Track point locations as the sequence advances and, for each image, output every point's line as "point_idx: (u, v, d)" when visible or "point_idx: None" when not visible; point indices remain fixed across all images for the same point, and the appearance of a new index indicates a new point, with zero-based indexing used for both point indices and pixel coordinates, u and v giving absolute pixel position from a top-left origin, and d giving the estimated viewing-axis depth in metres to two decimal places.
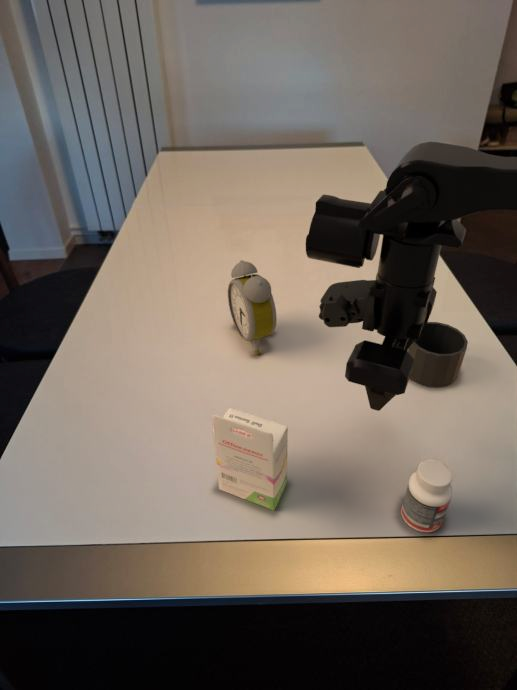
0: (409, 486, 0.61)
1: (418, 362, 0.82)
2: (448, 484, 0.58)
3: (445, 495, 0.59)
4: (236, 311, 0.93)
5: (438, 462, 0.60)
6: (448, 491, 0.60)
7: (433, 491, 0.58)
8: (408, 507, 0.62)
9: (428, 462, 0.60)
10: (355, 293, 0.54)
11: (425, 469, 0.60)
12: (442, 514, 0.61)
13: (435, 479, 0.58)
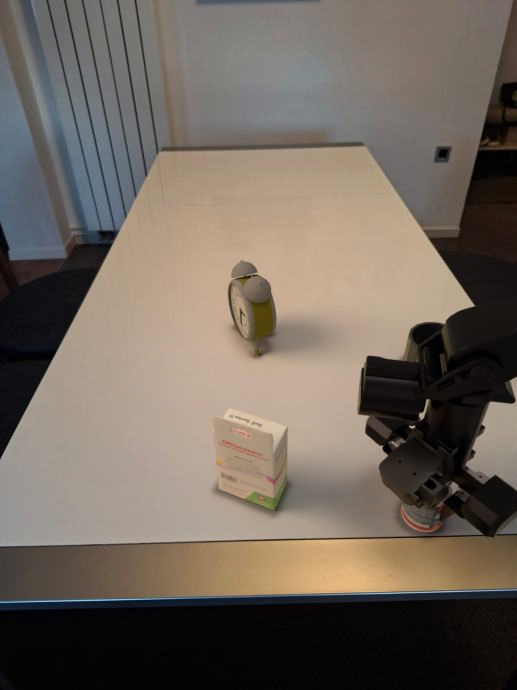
0: None
1: None
2: (448, 484, 0.58)
3: None
4: (236, 311, 0.93)
5: None
6: None
7: None
8: (408, 507, 0.62)
9: None
10: (424, 462, 0.53)
11: None
12: None
13: None
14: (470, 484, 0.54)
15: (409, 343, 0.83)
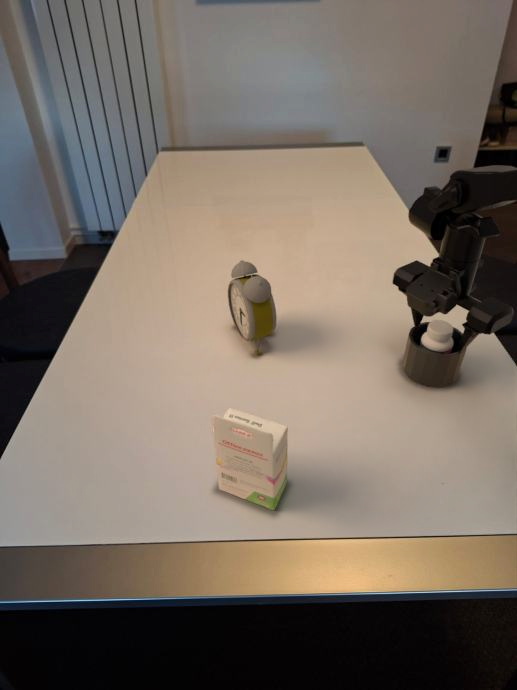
0: (421, 340, 0.83)
1: (418, 362, 0.82)
2: (450, 333, 0.80)
3: (448, 343, 0.81)
4: (236, 311, 0.93)
5: (443, 321, 0.83)
6: (450, 341, 0.82)
7: (439, 339, 0.81)
8: None
9: (435, 321, 0.83)
10: (439, 283, 0.73)
11: (433, 325, 0.82)
12: None
13: (441, 330, 0.81)
14: (473, 303, 0.74)
15: (409, 343, 0.83)
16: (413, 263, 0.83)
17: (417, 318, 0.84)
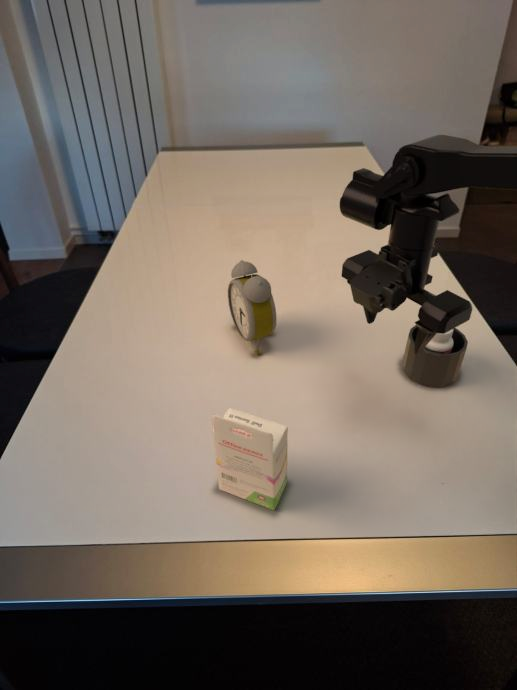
0: None
1: (418, 362, 0.82)
2: (450, 333, 0.80)
3: (448, 343, 0.81)
4: (236, 311, 0.93)
5: None
6: (450, 341, 0.82)
7: (439, 339, 0.81)
8: None
9: None
10: (386, 275, 0.63)
11: None
12: None
13: None
14: (426, 298, 0.65)
15: (409, 343, 0.83)
16: (364, 253, 0.73)
17: (370, 315, 0.75)
